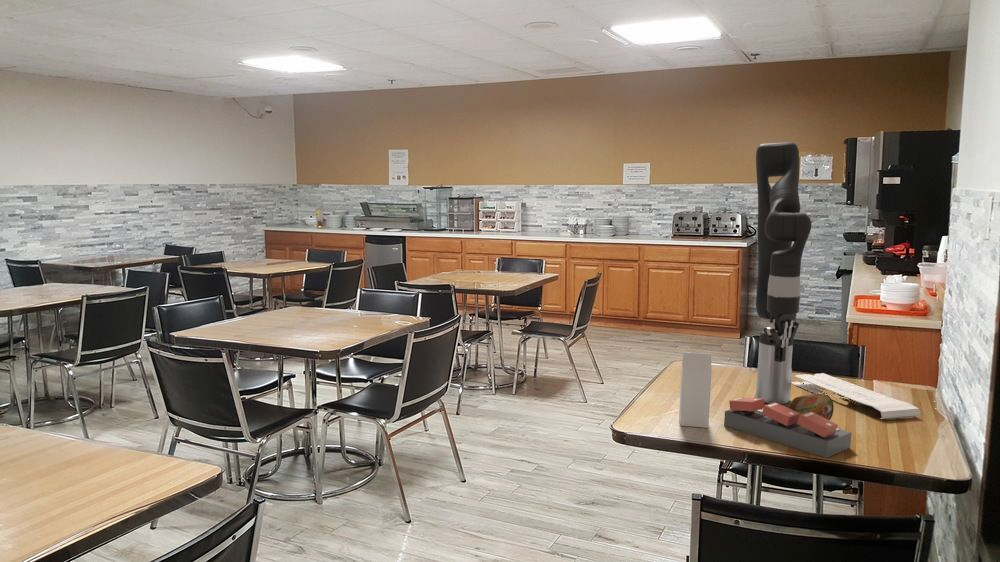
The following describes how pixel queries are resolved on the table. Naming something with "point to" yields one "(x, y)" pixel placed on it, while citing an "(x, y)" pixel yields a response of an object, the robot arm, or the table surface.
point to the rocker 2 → (781, 414)
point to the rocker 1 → (747, 404)
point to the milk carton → (695, 389)
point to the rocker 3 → (817, 424)
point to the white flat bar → (858, 395)
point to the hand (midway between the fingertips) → (779, 361)
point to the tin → (813, 405)
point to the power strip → (787, 433)
